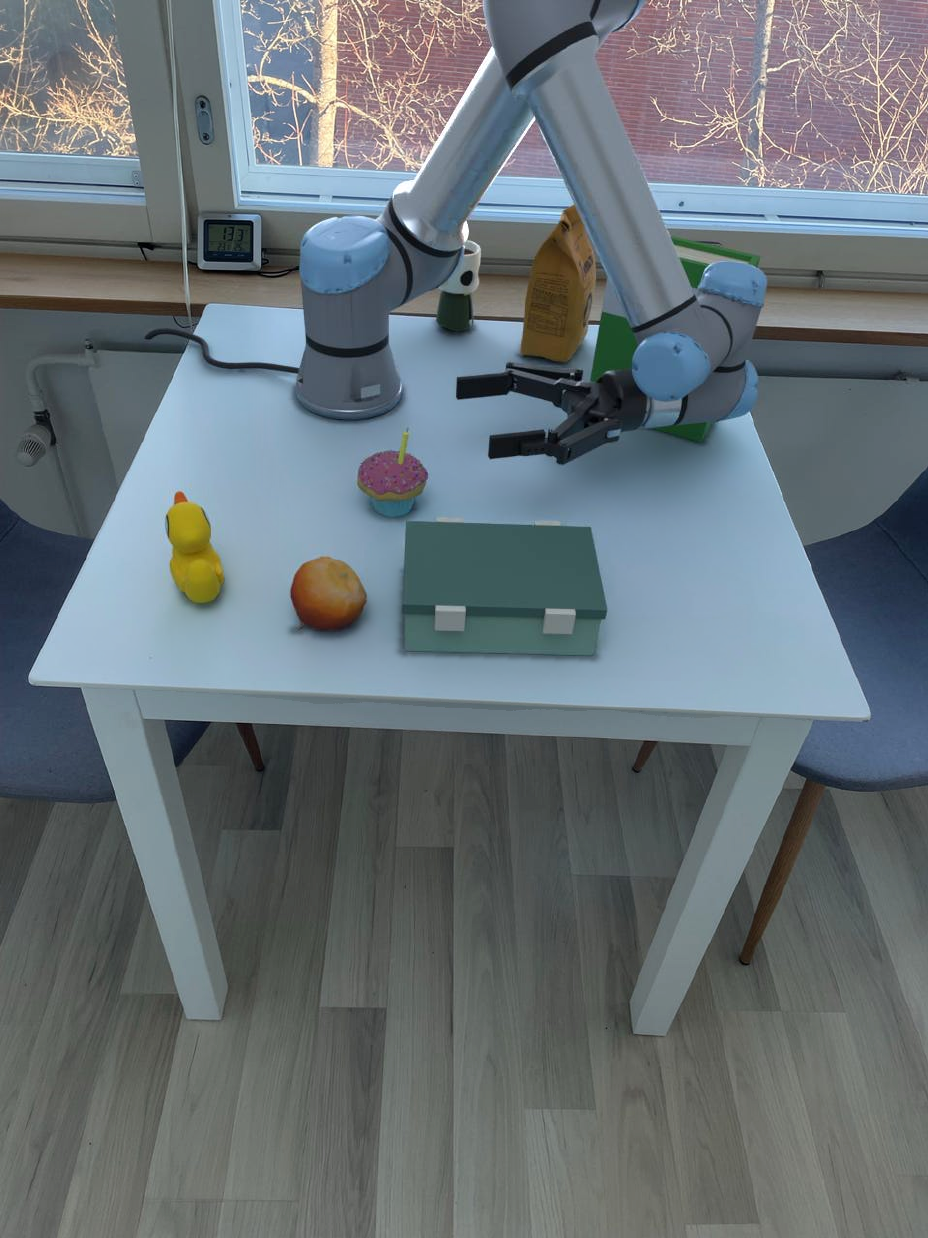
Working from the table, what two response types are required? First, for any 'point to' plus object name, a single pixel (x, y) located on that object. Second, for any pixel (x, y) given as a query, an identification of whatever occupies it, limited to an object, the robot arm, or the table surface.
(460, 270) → the character mug
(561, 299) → the coffee package
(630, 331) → the hardback book
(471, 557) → the lunchbox
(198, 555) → the duckling
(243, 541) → the table surface
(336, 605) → the fruit
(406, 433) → the cupcake
